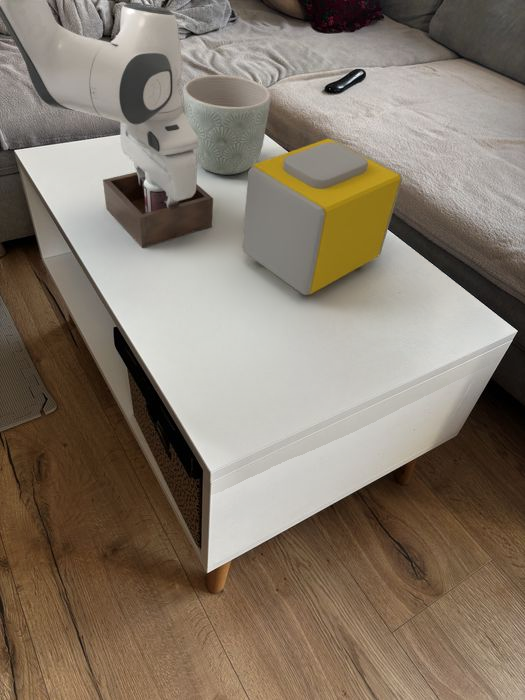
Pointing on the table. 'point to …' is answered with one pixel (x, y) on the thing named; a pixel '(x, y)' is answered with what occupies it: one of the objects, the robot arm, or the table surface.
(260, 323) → the table surface
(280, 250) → the alarm clock
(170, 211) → the holder
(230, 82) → the planter
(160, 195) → the pill bottle
